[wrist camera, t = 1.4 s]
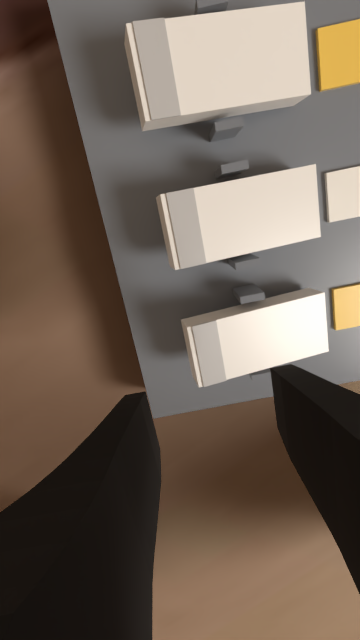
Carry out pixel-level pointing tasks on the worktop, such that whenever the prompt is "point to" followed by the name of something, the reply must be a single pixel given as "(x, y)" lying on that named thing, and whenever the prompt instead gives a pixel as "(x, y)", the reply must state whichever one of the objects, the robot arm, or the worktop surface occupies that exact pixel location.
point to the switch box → (215, 167)
